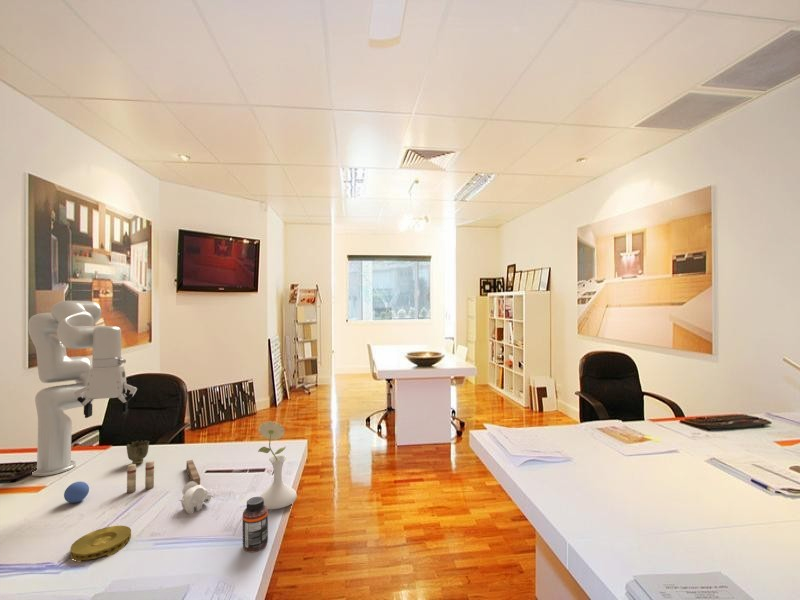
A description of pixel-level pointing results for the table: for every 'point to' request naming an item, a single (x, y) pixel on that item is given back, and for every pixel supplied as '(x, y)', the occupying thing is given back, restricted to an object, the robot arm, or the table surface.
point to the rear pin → (149, 475)
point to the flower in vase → (276, 470)
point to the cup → (137, 451)
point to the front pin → (131, 478)
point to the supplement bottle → (255, 525)
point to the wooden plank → (192, 472)
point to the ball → (76, 492)
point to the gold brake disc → (100, 543)
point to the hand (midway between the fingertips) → (106, 415)
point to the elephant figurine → (194, 497)
